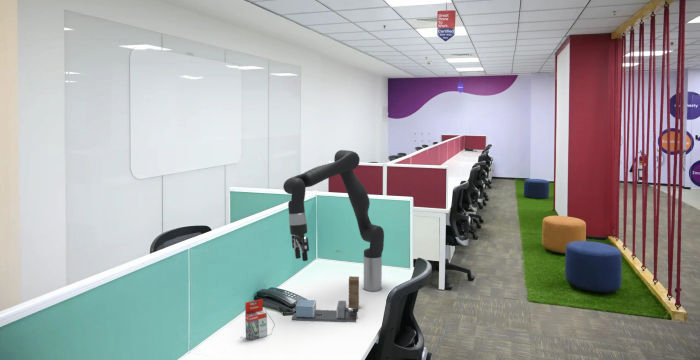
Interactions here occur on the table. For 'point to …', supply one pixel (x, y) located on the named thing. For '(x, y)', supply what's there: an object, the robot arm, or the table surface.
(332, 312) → the vise
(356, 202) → the robot arm
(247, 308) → the ink box
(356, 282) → the walnut block
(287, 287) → the table surface
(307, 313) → the sliding jaw
